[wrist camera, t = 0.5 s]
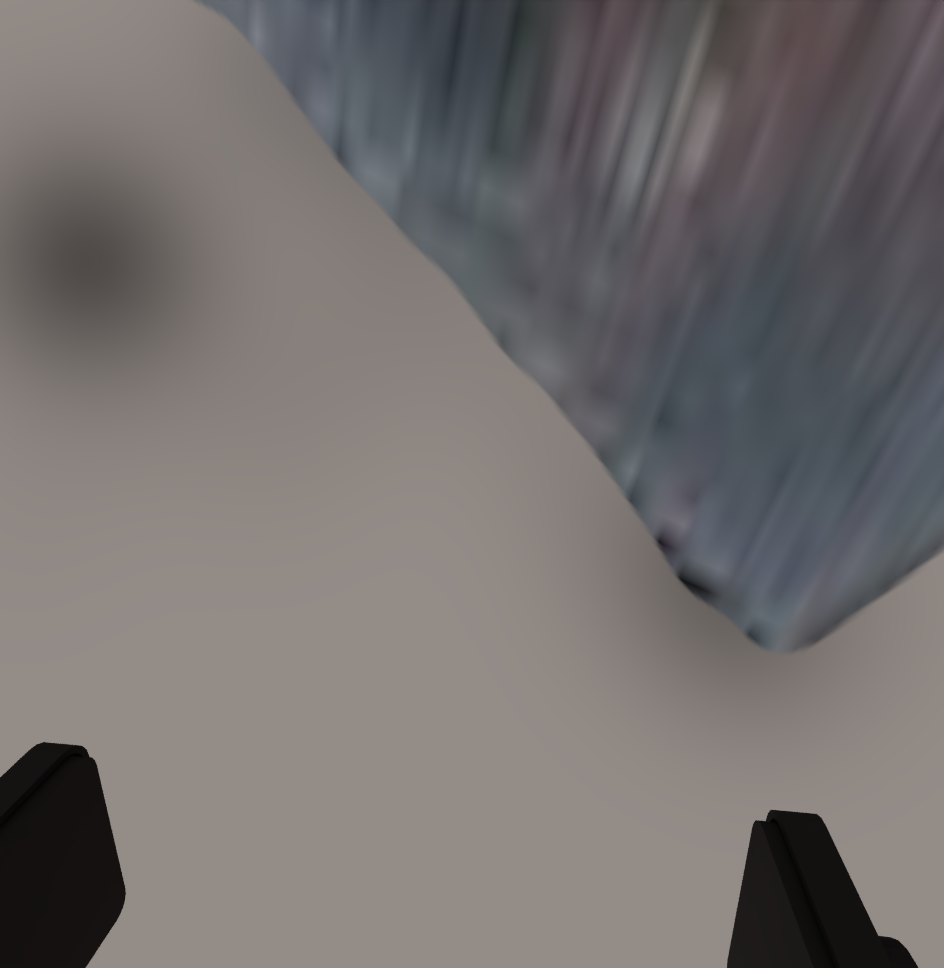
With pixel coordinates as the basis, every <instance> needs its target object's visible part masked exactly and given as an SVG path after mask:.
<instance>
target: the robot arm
mask: <svg viewBox="0 0 944 968" xmlns="http://www.w3.org/2000/svg"><path fill="white" fill-rule="evenodd" d="M125 895H126V893H125V885H124V881H123V877H122V872H121V868H120V864H119V859H118V855H117V851H116V846H115V842H114V838H113V833H112V829H111V825H110V821H109V816H108V812H107V807H106V803H105V799H104V794H103V790H102V786H101V782H100V777H99V773H98V768H97V765H96V762H95V760H94V759H93V758H91V757H89V754H88V752H87V750H86V749H85V748H84V747H83V746H78V745H68V744H57V743H46V742H43V743H40V744H37V745H36V746H34V747H33V748H31V749H30V750H29V751H28V752H27V753H26V754H25V755H24V756H23V757H22V758H20V759H19V760H18V761H17V762H16V763H15V764H14V765H13V766H12V767H11V768H10V769H9V770H8V771H7V772H6V773H5V774H3V775H2V776H1V777H0V968H85V967H86V966H87V965H88V963H89V962H90V960H91V959H92V957H93V956H94V954H95V952H96V951H97V950H98V948H99V947H100V945H101V943H102V942H103V940H104V939H105V937H106V936H107V934H108V933H109V931H110V930H111V928H112V927H113V925H114V924H115V922H116V921H117V919H118V917H119V915H120V913H121V910H122V908H123V905H124V901H125ZM727 968H918V966H917V965H916V963H915V961H914V960H913V958H912V956H911V955H910V953H909V952H908V950H907V949H906V948H905V947H904V946H903V945H902V944H901V943H900V942H899V941H898V940H896V939H893V938H891V937H883V936H878V934H877V932H876V930H875V928H874V926H873V924H872V922H871V920H870V918H869V915H868V913H867V911H866V909H865V907H864V905H863V903H862V901H861V899H860V897H859V894H858V892H857V890H856V888H855V886H854V884H853V882H852V880H851V878H850V876H849V873H848V872H847V869H846V867H845V865H844V863H843V861H842V859H841V857H840V855H839V852H838V850H837V848H836V846H835V844H834V842H833V840H832V838H831V836H830V834H829V831H828V829H827V827H826V825H825V824H824V822H823V820H822V818H821V817H820V816H818V815H817V814H810V813H800V812H790V811H778V810H771V811H770V812H769V813H768V815H767V819H766V821H757V820H756V821H755V822H754V824H753V827H752V833H751V838H750V843H749V848H748V853H747V859H746V864H745V870H744V875H743V880H742V886H741V891H740V897H739V902H738V908H737V912H736V918H735V923H734V928H733V934H732V939H731V945H730V950H729V956H728V962H727Z"/></svg>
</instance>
